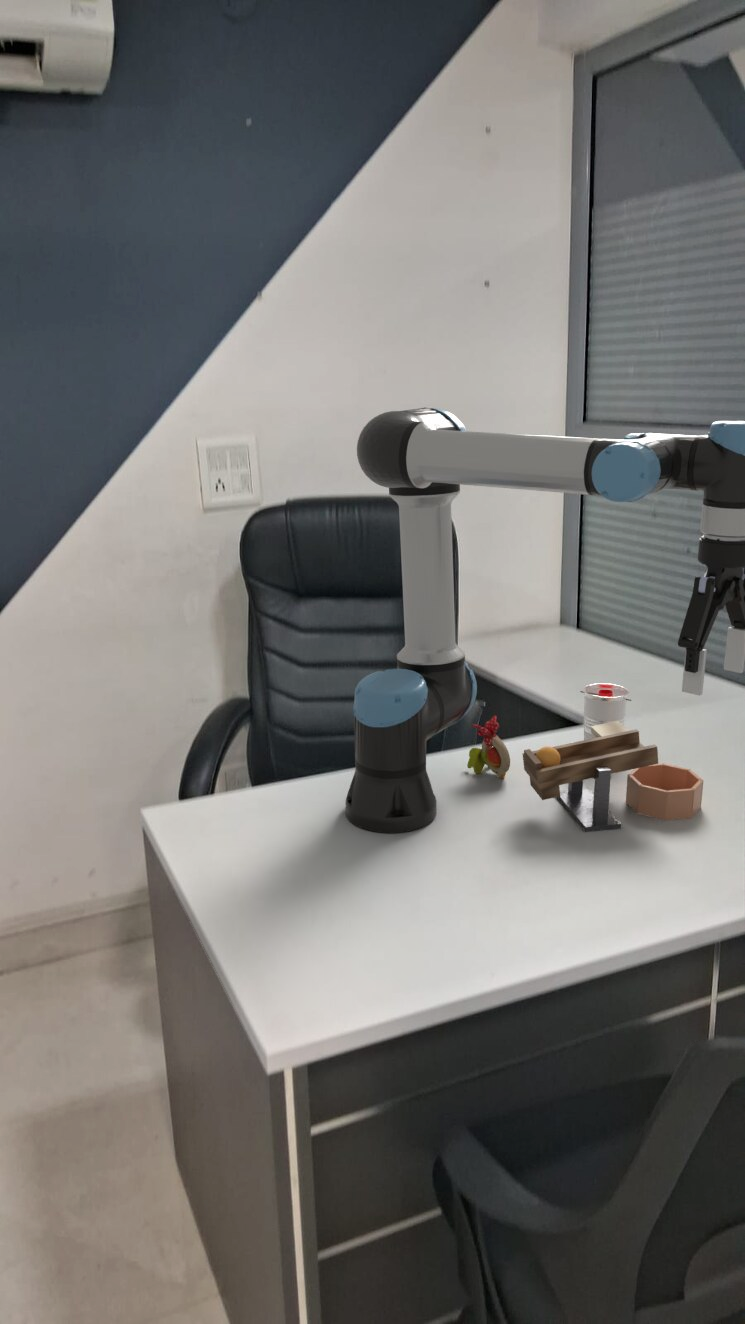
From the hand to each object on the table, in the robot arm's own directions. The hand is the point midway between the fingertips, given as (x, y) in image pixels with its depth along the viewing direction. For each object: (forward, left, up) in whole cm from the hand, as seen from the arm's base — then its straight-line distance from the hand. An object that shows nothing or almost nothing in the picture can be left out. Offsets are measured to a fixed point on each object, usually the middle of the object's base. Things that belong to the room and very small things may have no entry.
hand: (713, 681), depth 143 cm
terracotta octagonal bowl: (-10, +13, -27) cm, 32 cm away
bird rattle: (-40, +9, -27) cm, 49 cm away
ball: (-25, -2, -17) cm, 30 cm away
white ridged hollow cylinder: (-28, +31, -27) cm, 50 cm away
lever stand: (-19, +3, -27) cm, 34 cm away
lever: (-22, +6, -22) cm, 31 cm away
